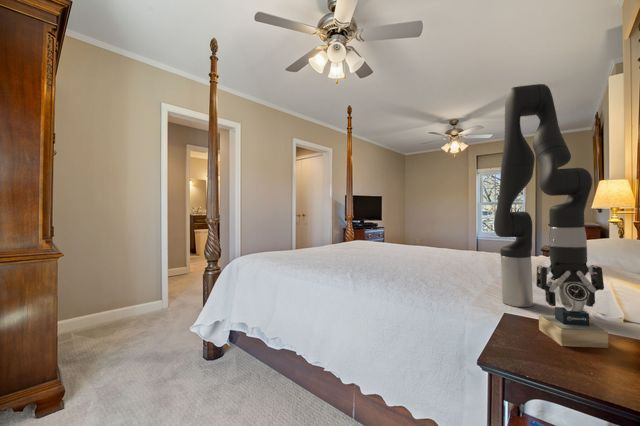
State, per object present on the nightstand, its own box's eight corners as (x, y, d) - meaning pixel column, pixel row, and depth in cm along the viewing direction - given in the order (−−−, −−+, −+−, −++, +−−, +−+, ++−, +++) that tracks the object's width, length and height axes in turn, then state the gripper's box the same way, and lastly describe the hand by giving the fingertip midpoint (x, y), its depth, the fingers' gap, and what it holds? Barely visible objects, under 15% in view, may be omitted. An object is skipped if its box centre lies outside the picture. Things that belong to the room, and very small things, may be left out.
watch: (567, 327, 73) (565, 283, 73) (551, 316, 81) (550, 276, 81) (594, 328, 71) (592, 284, 71) (576, 317, 79) (574, 277, 79)
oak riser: (539, 329, 82) (538, 314, 82) (579, 331, 80) (579, 315, 80) (561, 346, 72) (561, 328, 72) (608, 347, 70) (607, 330, 70)
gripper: (588, 242, 79) (590, 301, 79) (529, 243, 81) (532, 300, 81) (610, 245, 71) (613, 311, 71) (545, 246, 74) (547, 309, 74)
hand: (569, 305), depth 76 cm, fingers open, 8 cm apart
